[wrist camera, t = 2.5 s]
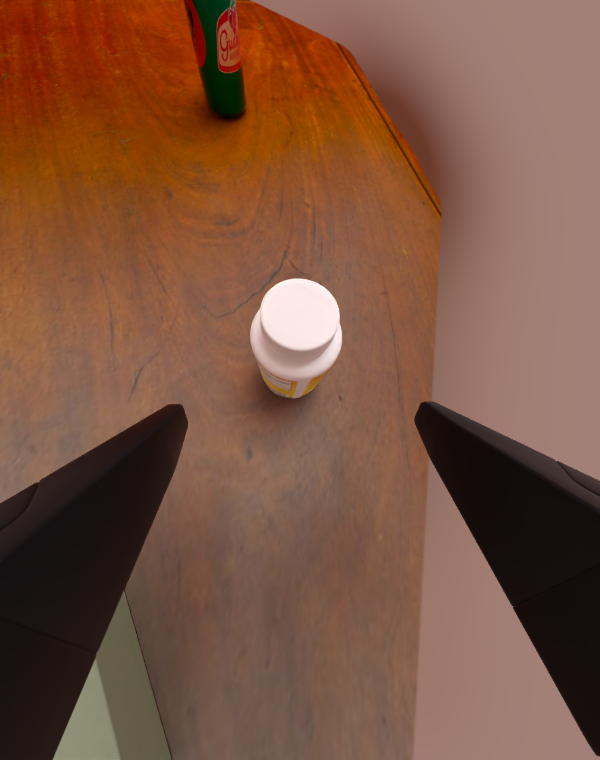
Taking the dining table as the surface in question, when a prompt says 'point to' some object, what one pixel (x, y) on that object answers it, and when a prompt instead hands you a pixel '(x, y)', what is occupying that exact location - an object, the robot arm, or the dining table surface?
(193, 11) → the soda can
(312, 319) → the supplement bottle
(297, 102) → the dining table surface
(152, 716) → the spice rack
